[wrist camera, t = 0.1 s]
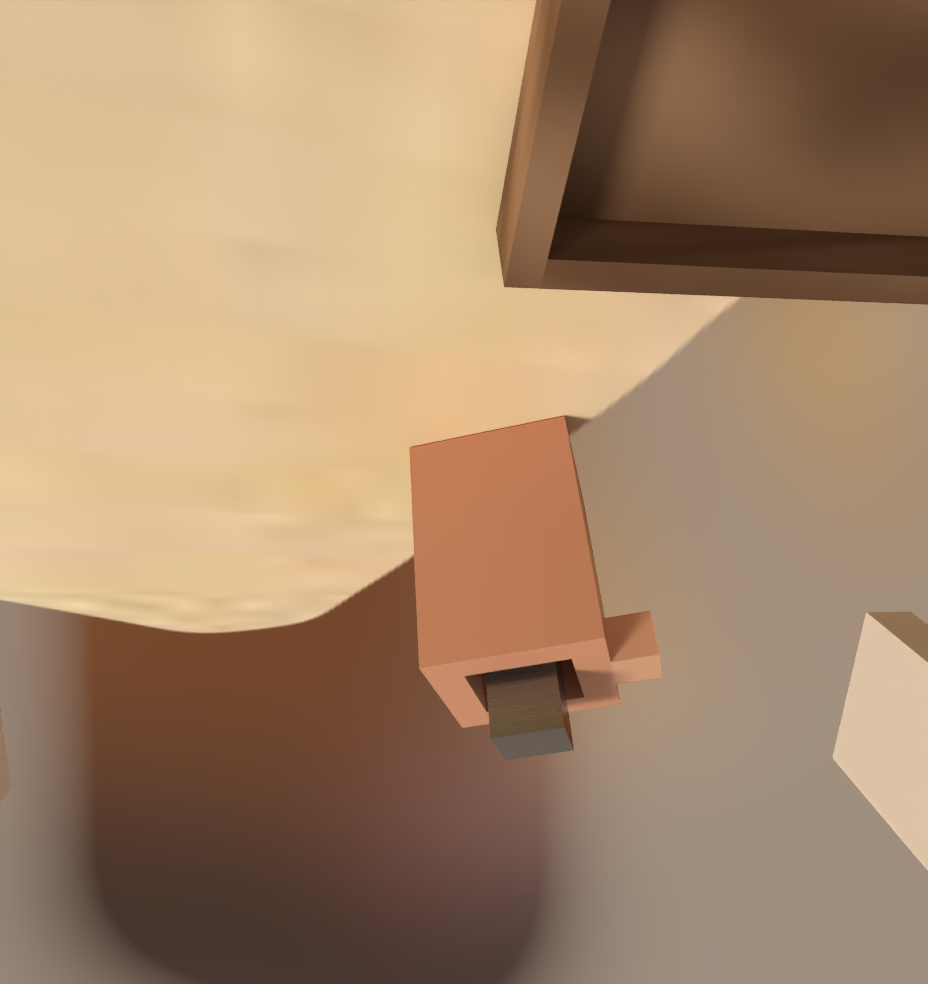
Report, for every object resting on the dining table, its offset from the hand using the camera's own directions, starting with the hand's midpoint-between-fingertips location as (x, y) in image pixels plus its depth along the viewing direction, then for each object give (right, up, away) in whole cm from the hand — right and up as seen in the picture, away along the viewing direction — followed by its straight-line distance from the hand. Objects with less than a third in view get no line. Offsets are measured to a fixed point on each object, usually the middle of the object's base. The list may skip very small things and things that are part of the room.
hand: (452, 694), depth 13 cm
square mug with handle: (+2, +4, +22) cm, 22 cm away
